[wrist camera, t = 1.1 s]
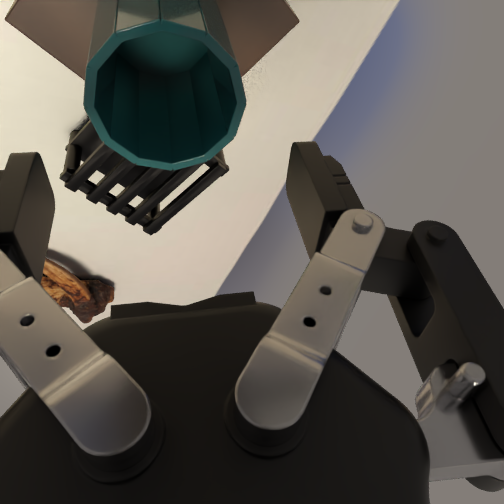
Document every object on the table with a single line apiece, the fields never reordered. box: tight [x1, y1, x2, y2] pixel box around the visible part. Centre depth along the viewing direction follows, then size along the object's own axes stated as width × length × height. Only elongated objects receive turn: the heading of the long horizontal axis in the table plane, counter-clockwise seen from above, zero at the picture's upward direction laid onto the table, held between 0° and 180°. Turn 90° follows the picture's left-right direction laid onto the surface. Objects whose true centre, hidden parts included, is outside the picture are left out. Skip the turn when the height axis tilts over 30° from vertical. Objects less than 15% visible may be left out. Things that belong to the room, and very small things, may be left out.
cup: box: [83, 0, 246, 171], centre depth 20 cm, size 6×6×9 cm
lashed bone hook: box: [40, 258, 114, 323], centre depth 50 cm, size 9×5×18 cm
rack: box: [60, 120, 229, 235], centre depth 39 cm, size 10×10×7 cm
